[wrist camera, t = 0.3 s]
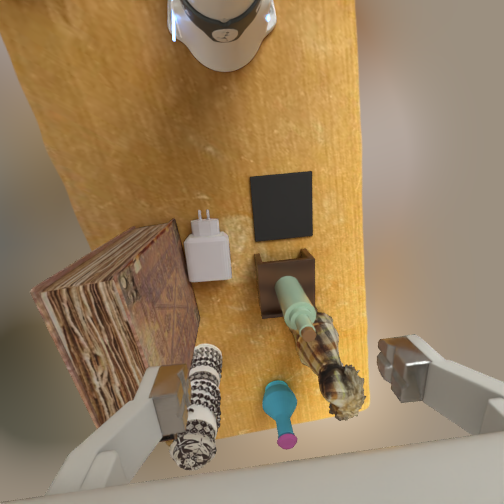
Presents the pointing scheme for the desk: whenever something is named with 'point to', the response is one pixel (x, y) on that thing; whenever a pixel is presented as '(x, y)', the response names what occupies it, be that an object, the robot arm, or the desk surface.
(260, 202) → the mat
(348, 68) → the desk surface
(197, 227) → the charger
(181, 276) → the book
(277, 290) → the bottle
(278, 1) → the desk surface
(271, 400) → the perfume bottle
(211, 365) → the decorative candle
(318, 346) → the plush toy
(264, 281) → the shelf
